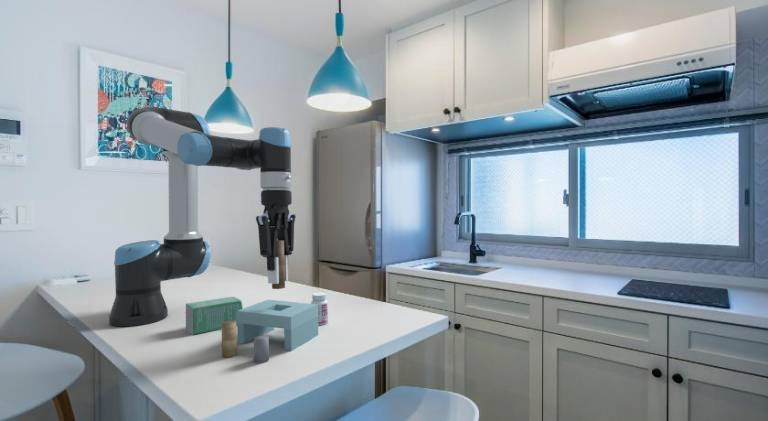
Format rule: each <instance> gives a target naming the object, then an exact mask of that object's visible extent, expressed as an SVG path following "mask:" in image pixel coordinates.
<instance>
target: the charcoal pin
mask: <svg viewBox="0 0 768 421" xmlns="http://www.w3.org/2000/svg"><path fill="white" fill-rule="evenodd" d="M269 338H270V337H269V336H268V335H261V336H257V337H255V338H254V339H253V362H254V363H255V364H264V363H267V362H269V361H270V344H269V342H270V339H269Z"/></svg>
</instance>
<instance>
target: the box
mask: <svg viewBox="0 0 768 421" xmlns="http://www.w3.org/2000/svg"><path fill="white" fill-rule="evenodd" d="M241 309H243V301H242V300H241V299H239V298H237V297H234V296H228V297H221V298H215V299H208V300H201V301H196V302H189V303H185V330H186V332H189V334H191V335H192V336H194V335H198V334H203V333H208V332H213V331H218V330H222V328H221V323H222V322H225V321H236V327H237V311H238V310H241Z"/></svg>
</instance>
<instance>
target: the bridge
mask: <svg viewBox="0 0 768 421" xmlns="http://www.w3.org/2000/svg"><path fill="white" fill-rule="evenodd" d="M236 327H237V344H242V345H243V344H246V343H249V342H250V341H252V340H253V341H254V338H255V337H257V336H264V335H265V334H267V333H269V332H272V331H274V330H275V328H276V329H282V330H283V338H284V339H283V340H284V342H283V343H284V344H283V348H284V351H289V352H290V351H294V350H296V349H297V348H299V347H301V346H302V345H304V344H305V343H307V342H309V341H310V340H312V339H314V338H315V337H317V336H319V325H318V304H311V303H305V302H298V301H297V302H295V301H286V300H285V301H284V300H276V299H266V300H263V301H260V302H258V303H254V304H252V305H249V306H247V307H242V309H241V310H238V311H237V326H236Z"/></svg>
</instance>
